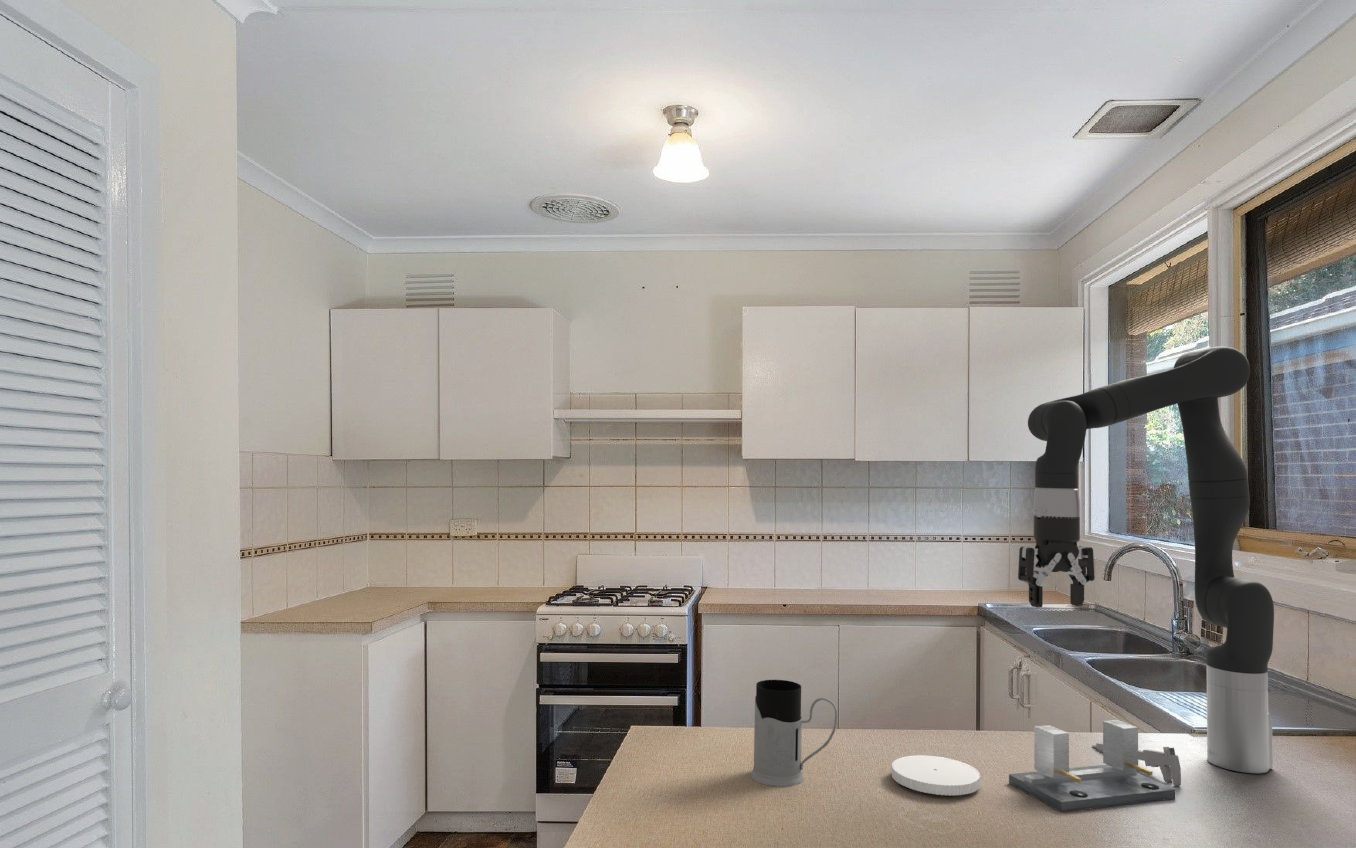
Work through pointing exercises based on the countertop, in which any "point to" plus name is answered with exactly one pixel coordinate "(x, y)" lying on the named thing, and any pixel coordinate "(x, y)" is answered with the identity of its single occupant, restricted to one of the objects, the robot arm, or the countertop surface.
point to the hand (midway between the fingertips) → (1056, 606)
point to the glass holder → (780, 733)
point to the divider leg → (1052, 752)
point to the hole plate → (1092, 788)
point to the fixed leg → (1121, 746)
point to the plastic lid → (936, 775)
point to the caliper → (1159, 762)
